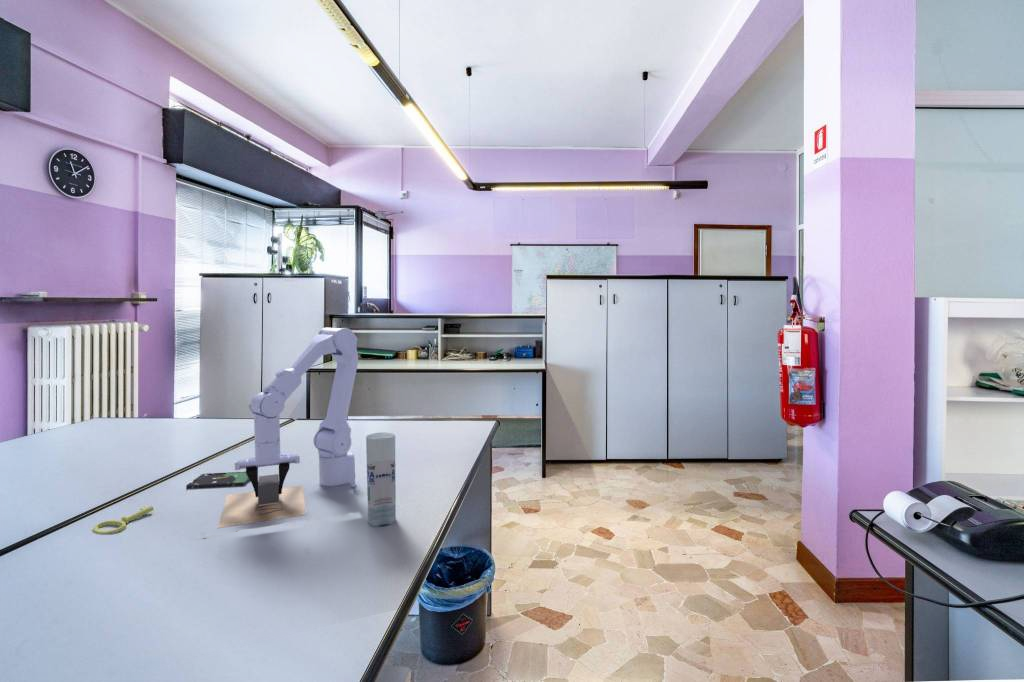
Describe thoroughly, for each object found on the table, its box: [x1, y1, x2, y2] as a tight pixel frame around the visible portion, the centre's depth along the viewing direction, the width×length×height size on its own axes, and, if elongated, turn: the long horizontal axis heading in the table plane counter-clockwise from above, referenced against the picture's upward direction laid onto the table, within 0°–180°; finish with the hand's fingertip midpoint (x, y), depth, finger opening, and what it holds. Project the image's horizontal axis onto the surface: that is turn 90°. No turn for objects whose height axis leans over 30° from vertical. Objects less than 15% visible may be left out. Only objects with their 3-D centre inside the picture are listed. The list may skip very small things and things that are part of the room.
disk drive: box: [185, 471, 251, 492], centre depth 143 cm, size 10×3×15 cm
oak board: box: [217, 485, 307, 529], centre depth 125 cm, size 18×22×1 cm
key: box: [92, 505, 154, 535], centre depth 118 cm, size 7×12×2 cm, turn 0°
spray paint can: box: [365, 432, 397, 527], centre depth 118 cm, size 6×6×20 cm
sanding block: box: [258, 473, 279, 506], centre depth 128 cm, size 4×8×5 cm, turn 24°
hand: (268, 494), depth 128 cm, fingers closed on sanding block, 4 cm apart
